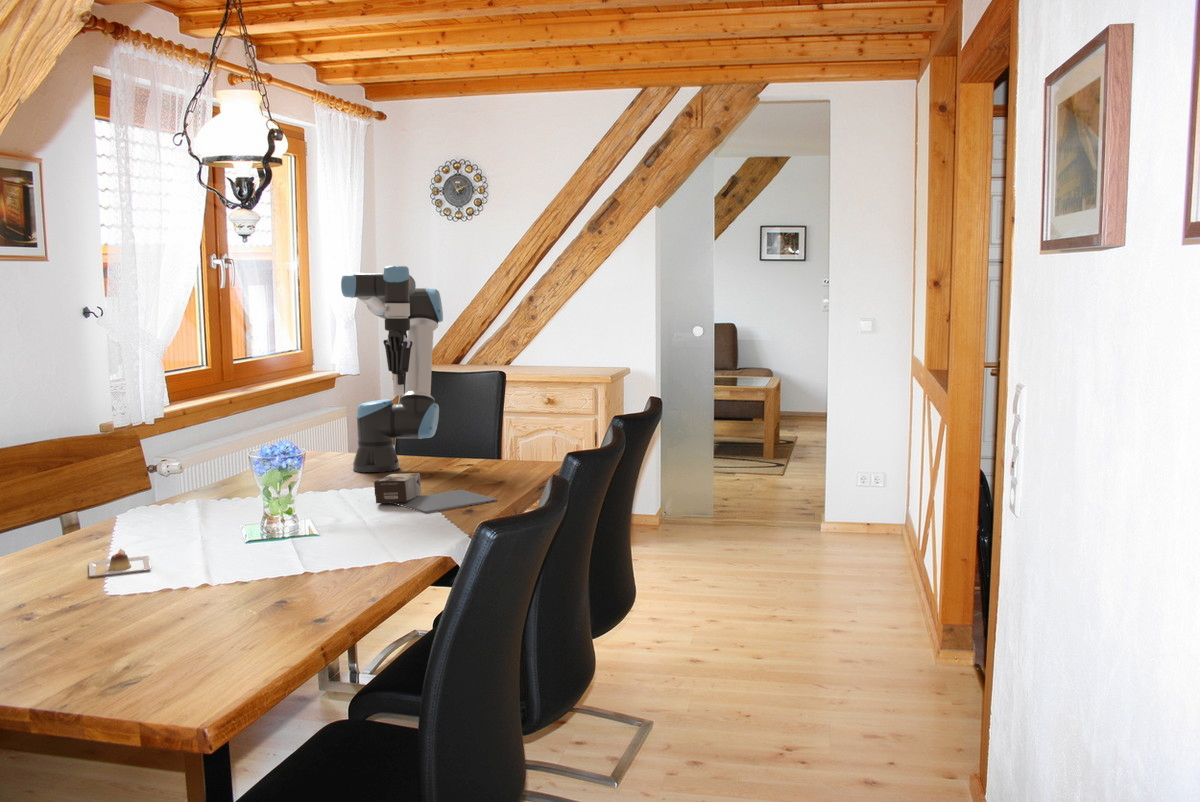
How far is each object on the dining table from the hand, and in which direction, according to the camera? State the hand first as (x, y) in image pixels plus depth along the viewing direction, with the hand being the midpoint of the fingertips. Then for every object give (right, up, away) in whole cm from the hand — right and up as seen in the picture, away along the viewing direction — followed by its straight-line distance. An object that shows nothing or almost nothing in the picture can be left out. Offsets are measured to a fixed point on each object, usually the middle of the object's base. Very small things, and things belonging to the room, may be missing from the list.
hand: (398, 395), depth 301 cm
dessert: (-43, -39, -85) cm, 103 cm away
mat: (+17, -31, -18) cm, 39 cm away
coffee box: (+4, -26, -8) cm, 28 cm away
